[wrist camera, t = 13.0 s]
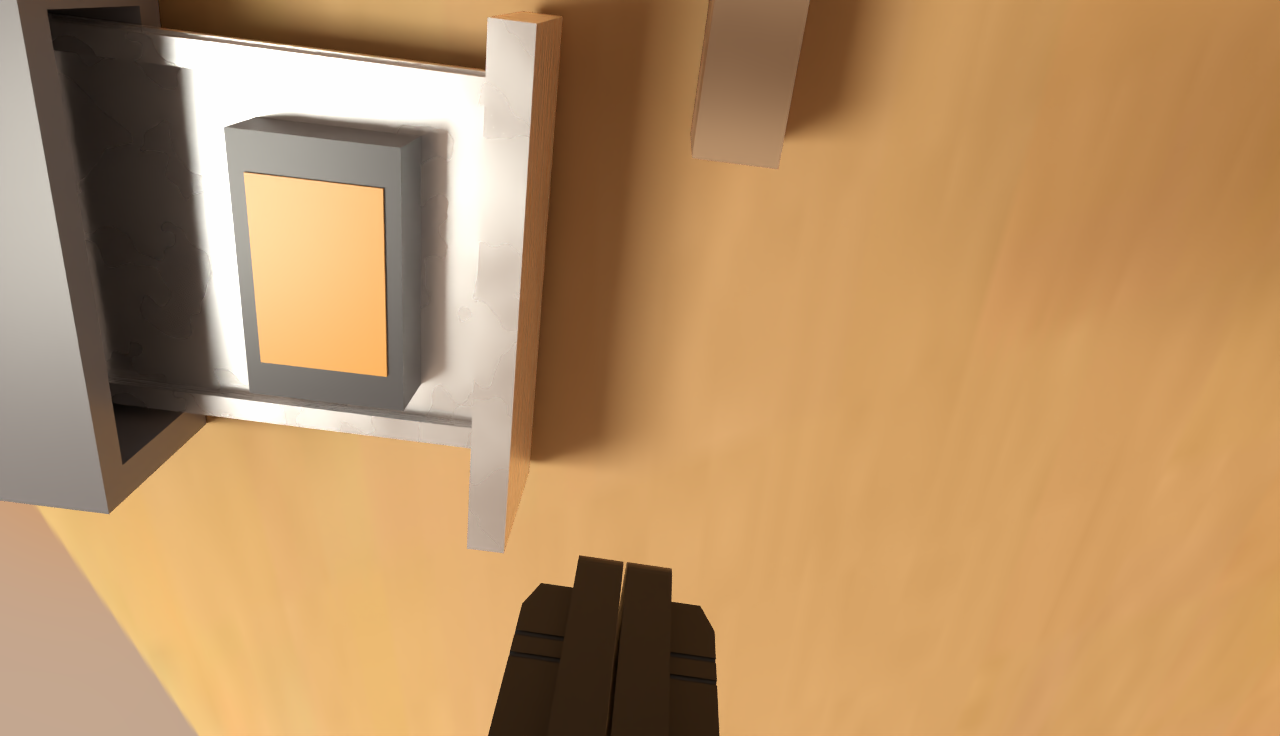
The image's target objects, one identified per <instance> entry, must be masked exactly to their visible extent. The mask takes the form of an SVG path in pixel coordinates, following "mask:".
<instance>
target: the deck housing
mask: <svg viewBox="0 0 1280 736" xmlns="http://www.w3.org/2000/svg"><path fill="white" fill-rule="evenodd" d="M48 13H53V14H61V15H69V16H77V17H84V18H92V19H100V20H107V21H115V22H123V23H130V24H138V25H146V26H153V27H161V23H160V14H159V5H158V0H0V501H9V502H16V503H24V504H32V505H40V506H48V507H56V508H64V509H72V510H80V511H88V512H97V513H105V514H109V513H110V512H112V511H113V510H114V509H115V508H116V507H117V506H118V505H119V504H120V503H121V502H122V501H123V500H125V499H126V498H127V497H128V496H129V495H130V494H131V493H132V492H133V491H134V490H135V489H136V488H137V487H139V486H140V485H141V484H142V483H143V482H144V481H145V480H146V479H147V478H148V477H149V476H150V475H151V474H153V473H154V472H155V471H156V470H157V469H158V468H159V467H160V466H161V465H162V464H163V463H164V462H165V461H167V460H168V459H169V458H170V457H171V456H172V455H173V454H174V453H175V452H176V451H177V450H178V449H179V448H181V447H182V446H183V445H184V444H185V443H186V442H187V441H188V440H189V439H190V438H191V437H192V436H193V435H195V434H196V433H197V432H198V431H199V430H200V429H201V428H202V427H203V426H204V425H205V424H206V417H205V415H201V414H193V413H186V412H178V411H170V410H162V409H154V408H146V407H138V406H130V405H122V404H114V403H112V399H111V393H110V387H109V381H108V375H107V369H106V362H105V356H104V350H103V344H102V338H101V332H100V326H99V320H98V314H97V308H96V302H95V296H94V290H93V284H92V278H91V272H90V266H89V260H88V254H87V248H86V242H85V236H84V230H83V224H82V218H81V212H80V206H79V200H78V194H77V188H76V182H75V176H74V170H73V164H72V158H71V152H70V146H69V140H68V134H67V128H66V122H65V116H64V110H63V104H62V98H61V92H60V86H59V80H58V74H57V68H56V61H55V55H54V49H53V43H52V37H51V31H50V25H49V19H48Z"/></svg>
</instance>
